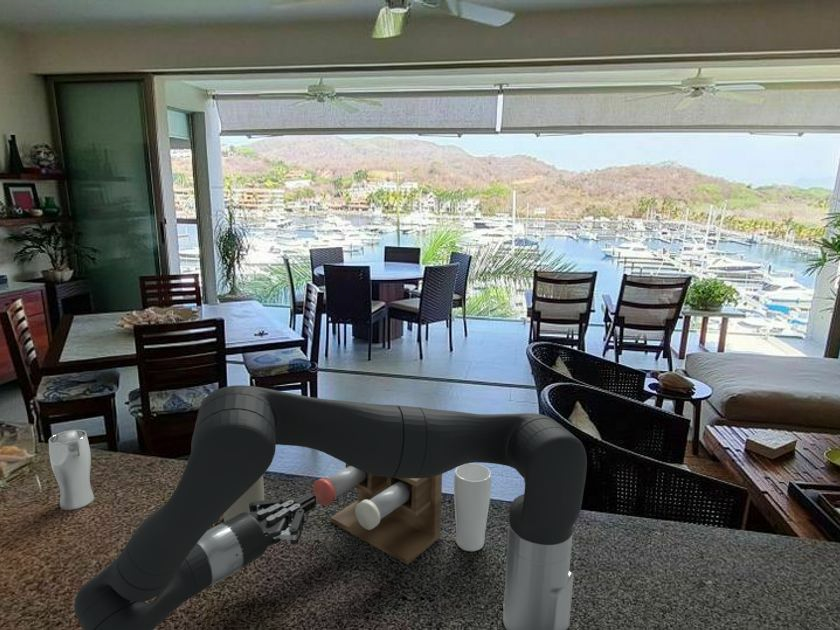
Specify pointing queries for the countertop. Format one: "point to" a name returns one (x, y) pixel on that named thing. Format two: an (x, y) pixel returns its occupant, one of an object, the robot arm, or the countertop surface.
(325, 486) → the red button
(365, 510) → the ivory button
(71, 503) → the beer glass
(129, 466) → the countertop surface
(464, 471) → the drinking glass
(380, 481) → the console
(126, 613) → the robot arm
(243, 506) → the travel mug
